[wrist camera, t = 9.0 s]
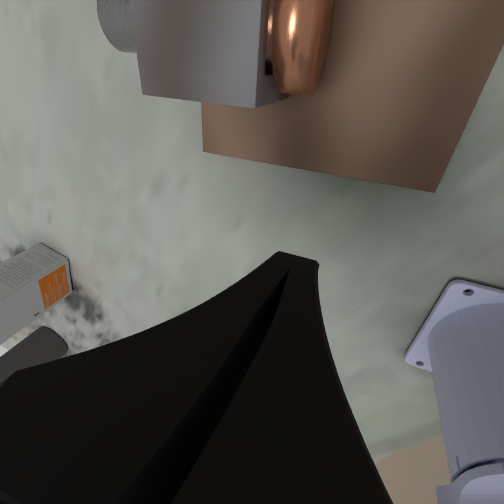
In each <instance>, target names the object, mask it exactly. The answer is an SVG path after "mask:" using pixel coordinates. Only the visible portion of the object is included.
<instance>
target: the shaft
mask: <svg viewBox="0 0 504 504" xmlns="http://www.w3.org/2000/svg"><path fill="white" fill-rule="evenodd" d="M334 7H335V0H270V5H269V19H268V33H267V47H266V60H265V63H272V68H273V75H274V80H275V84H276V87H277V89H278V90H279V92H281V93H288V94H298V95H307V96H311V95H313V93H314V92H315V90H316V88H317V86H318V83H319V80H320V77H321V73H322V70H323V66H324V62H325V58H326V53H327V49H328V44H329V39H330V33H331V27H332V21H333V14H334ZM97 12H98V17H99V21H100V25H101V27H102V30H103V32H104V34H105V36H106V37H107V39H108V40H109V42H110V43H111V44H112V45H113V46H114V47H115V48H116V49H118V50H119V51H122V52H131V53H137V52H136V45H135V38H134V31H133V24H132V17H131V10H130V3H129V0H97Z"/></svg>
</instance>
